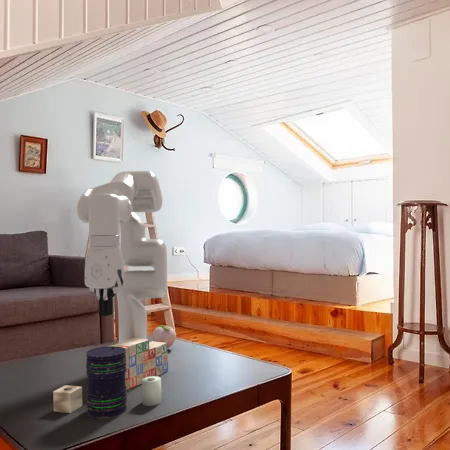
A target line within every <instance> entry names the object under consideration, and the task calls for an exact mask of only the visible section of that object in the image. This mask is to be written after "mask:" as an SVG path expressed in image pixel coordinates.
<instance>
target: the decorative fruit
mask: <svg viewBox="0 0 450 450" xmlns="http://www.w3.org/2000/svg"><path fill="white" fill-rule="evenodd" d="M151 337H152V338H151V339H152V341H155V342H164V343H167V349H169V348H171V346H173V345H174V343H175V342H176V339H177V333H176V331H175V329H174V328H173V327H172V326H169V325H165V323H164V322H163V325H157V326H156V328H154V330H153V332H152V335H151Z"/></svg>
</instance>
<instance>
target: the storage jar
mask: <svg viewBox="0 0 450 450" xmlns="http://www.w3.org/2000/svg"><path fill="white" fill-rule="evenodd" d="M125 354H126V349H125V348H123V347H116V346H110V345H108V347H107V346H101V347H100V346H99V347H96V348H92V349H89V350H87V351H86V355H85V356H86V364H85V368H86V376H87V391H86V405H87V410H86V411H87V414H86V415H88V417H90V418H94V419H109V418H114V417H118V416H120V415H121V416H122V415H123V414H124V413H125V412H126V411H127V410H128V409H127V408H128V407H127V402H128V401H127V400H128V393H127V387H126V386H125V373H126V369H127V368H126V355H125Z"/></svg>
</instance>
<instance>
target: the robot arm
mask: <svg viewBox="0 0 450 450" xmlns="http://www.w3.org/2000/svg"><path fill="white" fill-rule="evenodd" d="M162 195H163V194H162V191H161V186H160V183H159V180H158V178H157V176H156V175H155V173H154V172H152V171H150V170H132V171H130V170H128V171H121V172H118V173H117V174H115V175H114V177H113V178H112V179H111V181H110V182H106V183H104V184H101V185H98V186H95V187H91V188H88V189H87V190H85V191H84V193H83V194H81V196H80V198H79V199H78V201H77V206H76V213H77V217H78V219H79V220H80V221H81V222H82V223H84V224H88V246H89V247H88V248H87V250H86V255H85V260H84V261H85V262H84V285H85V286H86V287H87V288H88V289H89V291H90V292H93V293H94V294H95V296H96V300H98V316H100V317H107V316H112V315H113V312H114V308H113V307H114V306H113V305H114V304H113V302H114V301H113V300H114V299H115V298H116V299H117V310H118V313H117V314H118V316H117V317H118V343H120V342H122V341H125V340H129V339H132V338H139V339H148V319H147V317H148V314H147V309H146V307H145V306H144V304H143V303H142V302H141V301H140V300H142V299H160V298H164V297H165V296H166V294H167V291H168V252H167V246H166V243H165V241H163V240H162V239H158V238H149V239H148V238H146V226H145V223H144V221H143V220H142V219H141V217H140V216H138V214H136V213H155V212H159V211H161V209H162V206H163V196H162ZM125 267H129V268H130V267H132V268H136V267H137V268H139V267H140V268H142V267H144V268H145V267H146V268H148V267H151V268H153V269H152V270H151V269H149V270H146V269H145V270H140V269H139V270H126V271H125ZM115 296H116V297H115Z"/></svg>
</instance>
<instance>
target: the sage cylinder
mask: <svg viewBox="0 0 450 450" xmlns="http://www.w3.org/2000/svg"><path fill="white" fill-rule="evenodd" d="M162 394H163V393H162V378H161V377H160V376H150V377H146V378H143V379H142V384H141V397H142V399H141V400H142V401H141V402H142V405H143V406H145V407H153V406H158V405H160V404H161V403H162V402H163V401H162Z"/></svg>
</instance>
